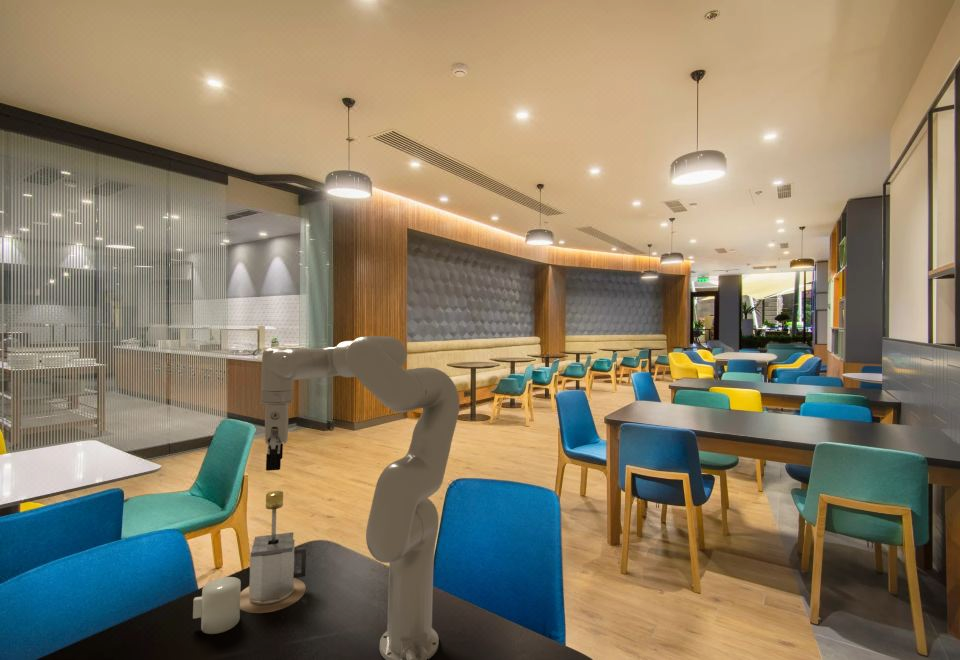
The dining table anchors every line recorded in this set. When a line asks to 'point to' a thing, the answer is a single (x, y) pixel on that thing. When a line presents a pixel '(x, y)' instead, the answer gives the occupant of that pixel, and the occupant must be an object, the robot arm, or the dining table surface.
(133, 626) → the dining table surface
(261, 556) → the grey handled container
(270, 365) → the robot arm
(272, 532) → the plunger
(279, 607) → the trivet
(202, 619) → the mug
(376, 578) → the dining table surface
